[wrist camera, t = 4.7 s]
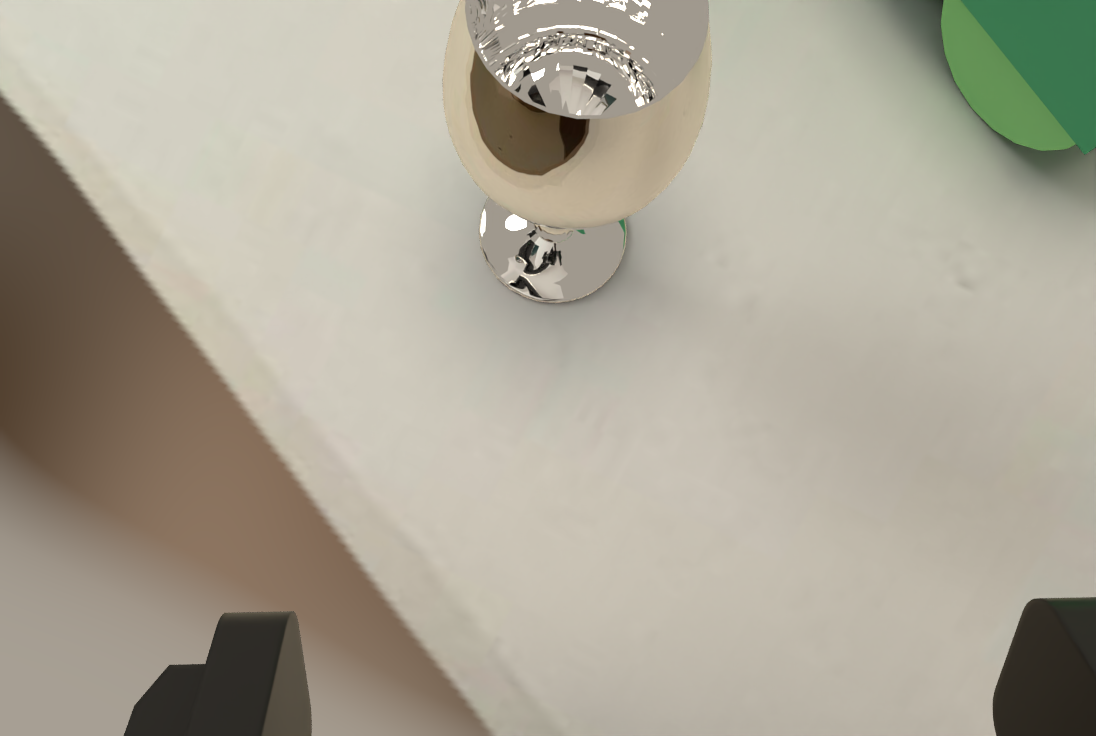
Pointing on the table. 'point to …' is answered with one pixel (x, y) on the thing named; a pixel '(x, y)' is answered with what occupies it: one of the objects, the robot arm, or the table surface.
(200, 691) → the robot arm
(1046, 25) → the toy tank
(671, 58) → the wineglass
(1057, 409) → the table surface
